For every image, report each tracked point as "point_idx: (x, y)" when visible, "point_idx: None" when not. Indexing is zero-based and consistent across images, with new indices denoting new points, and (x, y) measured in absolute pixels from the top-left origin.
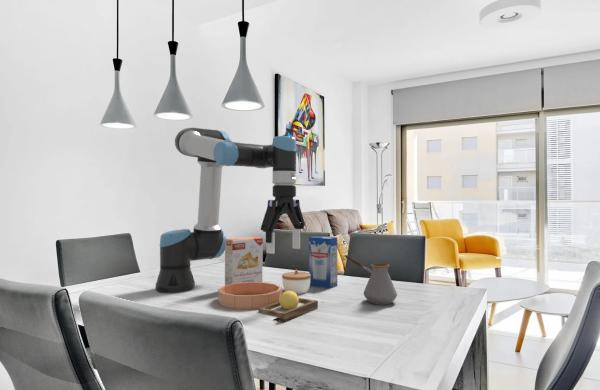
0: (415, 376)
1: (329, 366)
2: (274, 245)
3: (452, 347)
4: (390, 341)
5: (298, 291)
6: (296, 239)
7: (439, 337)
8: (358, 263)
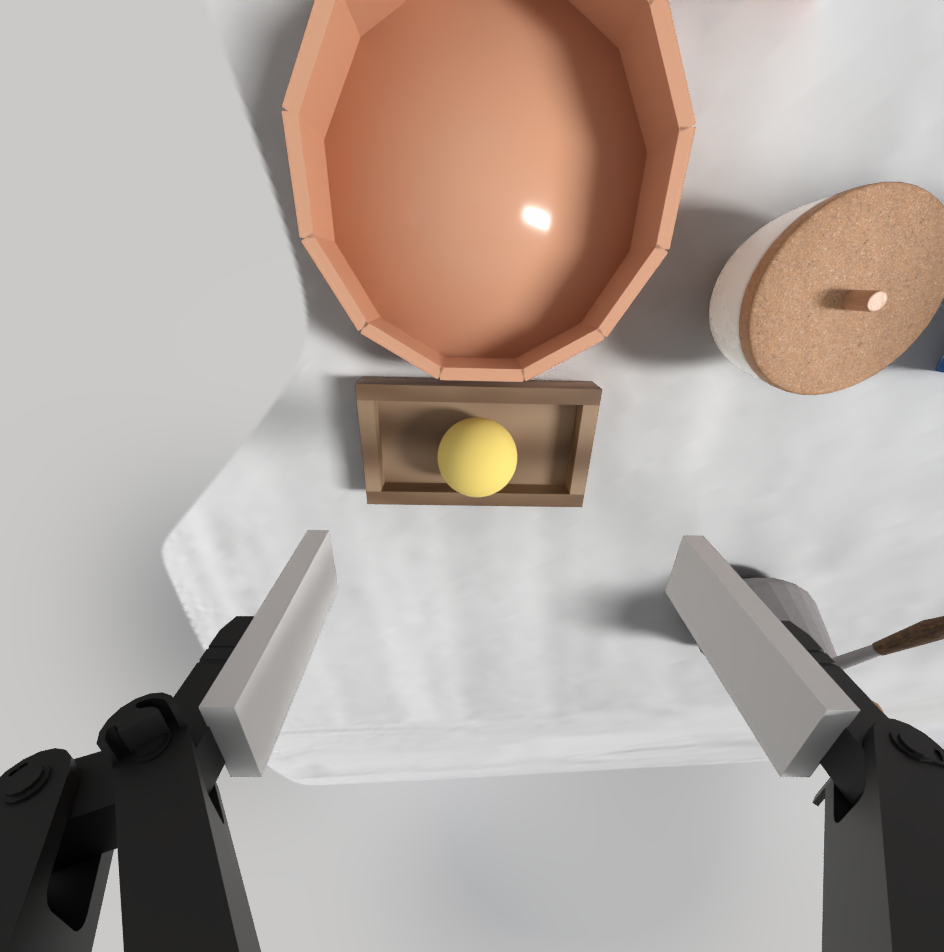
0: (303, 768)
1: None
2: (313, 640)
3: (454, 776)
4: (417, 713)
5: (717, 346)
6: (717, 636)
7: (493, 756)
8: (899, 644)
